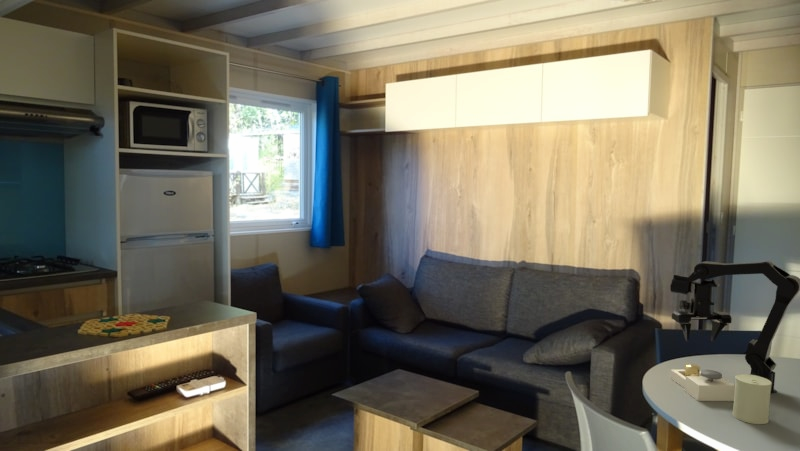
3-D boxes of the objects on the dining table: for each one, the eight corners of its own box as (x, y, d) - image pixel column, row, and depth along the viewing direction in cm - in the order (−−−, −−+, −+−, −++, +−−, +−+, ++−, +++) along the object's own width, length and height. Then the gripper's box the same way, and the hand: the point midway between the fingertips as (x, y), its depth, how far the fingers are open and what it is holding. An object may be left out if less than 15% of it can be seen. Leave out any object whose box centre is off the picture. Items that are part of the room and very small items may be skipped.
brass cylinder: (701, 385, 196) (702, 368, 196) (688, 385, 196) (690, 368, 196) (694, 380, 201) (695, 363, 200) (681, 380, 201) (683, 363, 200)
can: (734, 420, 169) (737, 380, 168) (730, 408, 178) (733, 370, 176) (771, 426, 166) (775, 385, 165) (765, 414, 174) (768, 375, 173)
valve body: (700, 378, 204) (702, 356, 203) (735, 401, 184) (737, 377, 183) (666, 377, 203) (668, 356, 202) (697, 400, 183) (699, 377, 183)
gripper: (715, 292, 213) (712, 334, 215) (665, 292, 212) (662, 334, 214) (734, 299, 202) (730, 343, 204) (681, 299, 201) (678, 343, 203)
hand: (699, 340), depth 206 cm, fingers open, 9 cm apart
